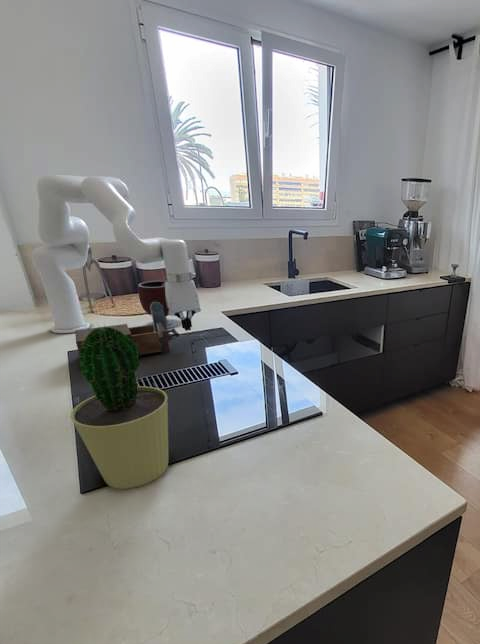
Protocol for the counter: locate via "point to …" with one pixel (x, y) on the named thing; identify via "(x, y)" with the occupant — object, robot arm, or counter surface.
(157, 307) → the bottle opener
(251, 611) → the counter surface
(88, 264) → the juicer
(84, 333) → the cabinet
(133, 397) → the potted cactus
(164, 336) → the drawer
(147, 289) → the mate gourd
